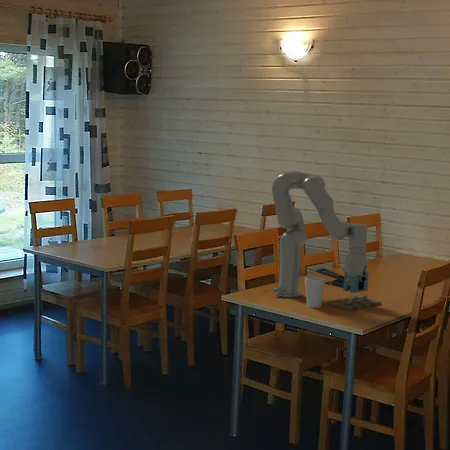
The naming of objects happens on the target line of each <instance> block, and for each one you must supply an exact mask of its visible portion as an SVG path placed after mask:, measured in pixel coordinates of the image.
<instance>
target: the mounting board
mask: <svg viewBox="0 0 450 450" xmlns="http://www.w3.org/2000/svg"><path fill="white" fill-rule="evenodd" d="M326 303H327V305H329V306H333V307H336V308H339V309H343V310H346V311H349V312H352V311H354V310H355V311H356V310H361V309H365V308H370V307H375V306H380V305H382V301H380V300H376V299H373V298H369V297H368V296H367V295H366V294H365V295H355V296H349V297H345V298H339V299H338V298H337V299H335V300H329V301H326Z"/></svg>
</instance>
